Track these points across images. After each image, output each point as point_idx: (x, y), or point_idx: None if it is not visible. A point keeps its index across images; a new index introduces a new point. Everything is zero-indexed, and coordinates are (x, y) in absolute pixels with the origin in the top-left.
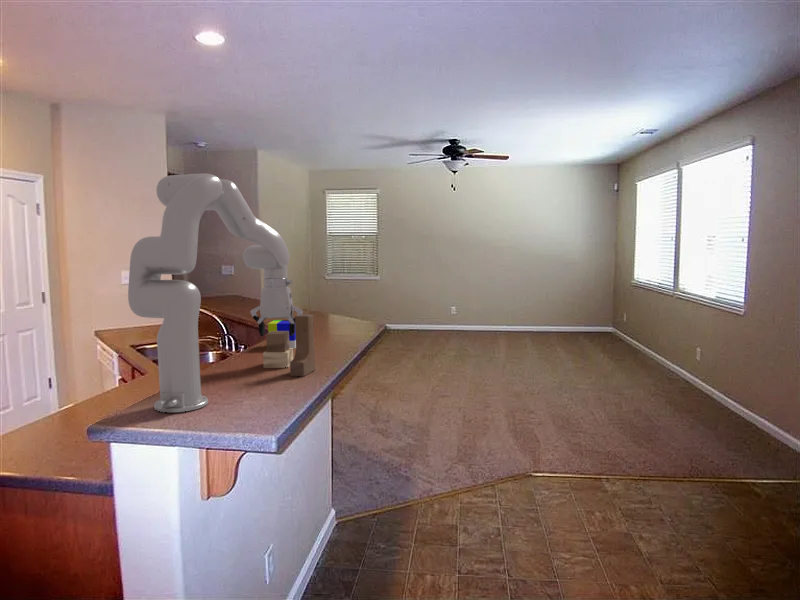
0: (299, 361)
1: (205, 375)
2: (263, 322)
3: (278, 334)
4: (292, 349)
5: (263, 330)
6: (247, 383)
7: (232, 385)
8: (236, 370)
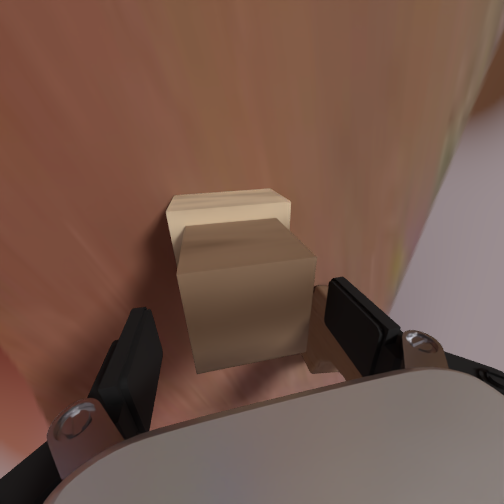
0: (335, 370)
1: (52, 379)
2: (122, 413)
3: (271, 357)
4: (288, 212)
5: (151, 362)
6: (218, 400)
7: (192, 416)
8: (111, 319)
